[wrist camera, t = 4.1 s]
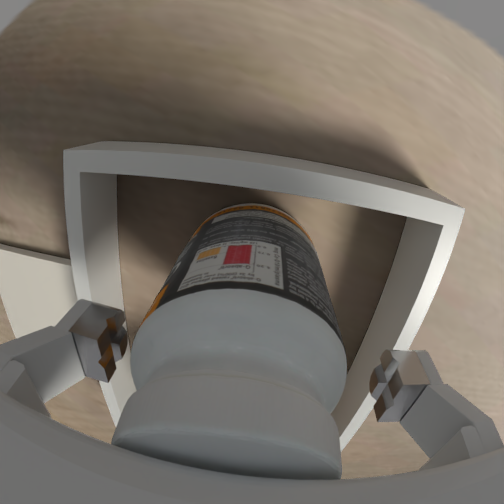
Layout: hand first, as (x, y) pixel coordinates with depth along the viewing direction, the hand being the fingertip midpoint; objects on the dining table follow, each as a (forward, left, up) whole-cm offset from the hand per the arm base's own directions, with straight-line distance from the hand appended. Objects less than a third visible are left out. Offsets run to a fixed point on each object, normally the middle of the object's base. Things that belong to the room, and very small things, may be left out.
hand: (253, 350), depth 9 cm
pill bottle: (0, 0, -6) cm, 6 cm away
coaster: (-13, -6, -5) cm, 15 cm away
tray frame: (0, -4, -5) cm, 7 cm away
